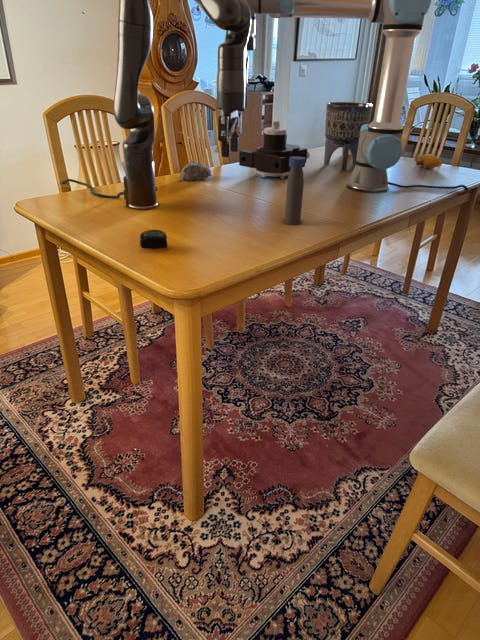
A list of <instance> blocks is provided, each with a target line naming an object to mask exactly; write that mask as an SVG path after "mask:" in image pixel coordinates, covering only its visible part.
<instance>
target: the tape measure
mask: <svg viewBox="0 0 480 640" xmlns="http://www.w3.org/2000/svg"><path fill="white" fill-rule="evenodd" d="M167 236H168V235H167V234H166V232H165V231H164V230H161V229H147V230H144V231H143V232H141V233H140V235H139V240H140V241H139V245H140V246H139V247H141V248H142V249H146V250H157V249H167V248H168V240H167V239H168V237H167Z"/></svg>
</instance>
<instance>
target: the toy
mask: <svg viewBox="0 0 480 640" xmlns="http://www.w3.org/2000/svg"><path fill="white" fill-rule="evenodd" d="M413 160H414V162H415V165H416V166H421V167H425V168H426V169H428V170H430V169H435V168H438V167H441V166H442V165H443V161H442V160H440V159H438V157H437V156H436V155H434V154H430V153H428V154H425V155H423V154H422V155H419V156H418V157H417V158H415V159H413Z"/></svg>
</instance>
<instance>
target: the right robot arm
mask: <svg viewBox="0 0 480 640" xmlns="http://www.w3.org/2000/svg"><path fill="white" fill-rule="evenodd" d="M245 1H246V2H247V3H248V5H249V7H250V11H251V27H250V32H249V37H248V42H247V46H246V50H245V108H248V87H250V83H249V79H248V78H249V65H250V57H249V54H248V51H255V49H256V38H255V37H254V36H255V35H256V25H257V23H256V22H257V19H256V16H257V14H258V15H262V14H263V15H268V16H269V17H270V18H272V19H281V18H299V19H300V18H301V19H302V18H307V19H349V20H350V19H352V20H353V19H354V20H367V21H368V23H370V24H371V23H374V24H383V25H382V33H383V34H384V36H385V38H386V39H385V43H384V44H385V45H384V51H383V57H382V58H383V59H382V63H381V64H382V65H381V70H380V71H381V72H380V77H379V82H378V89H377V97H376V101H375V110H374V116H373V120H372V121H371V122H369V124H364V125H362V127H361V130H360V133H359V134H360V137H359V144H358V151H357V158H356V165H355V166H354V167H353V171H351V174H350V176H349V179H348V182H347V187H348V188H349V189H351V190H354V191H358V192H363V193H364V192H365V193H382V192H386V191H388V189H389V185H390V186H393V187H397V188H401V189H407V188H408V189H410V188H425V189H437V190H438V189H439V190H440V189H441V190H454V189H459V188H463V189H464V190H468V186H466V185H464V184H459V185H454V186H442V185H441V186H439V185H438V186H437V185H426V184H408V185H402V184H398V183H396V182H395V183H394V182H390V181H389V178H388V173H387V172H388V171H387V169H390V168H392V167H394V166H395V165H396V164H397V163H399V161H400V159H401V158H402V155H403V152H404V149H403V148H404V147H403V141H402V139H403V138H402V137H403V132H404V126H403V124H402V123H401V117H402V112H403V107H404V101H405V97H406V96H405V95H406V90H407V84H408V79H409V73H410V67H411V62H412V59H413V51H414V45H415V41H416V38H417V37H418V36H419V35H420V34H421V33H422V32H423V31H422V30H423V25H424V20H425V16H426V14H427V13H428V12H429V9H430V7H431V4H432V0H245ZM245 108H244V109H243V110H238V111H239V112H245V111H246V109H245Z"/></svg>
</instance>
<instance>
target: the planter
mask: <svg viewBox="0 0 480 640" xmlns="http://www.w3.org/2000/svg"><path fill="white" fill-rule="evenodd" d="M373 107H374V106H373V104H372V103H367V102H353V101H333V102H327V103H326V109H325V124H324V125H325V126H324V139H325V144H324V156H323V157H324V158H323V165H325V166H328V165H330V163H331V158H332V156H333V154H334V153H335V151H336V150H337V149H340V148H341V152H342V153H341V166H340V170H341V172H345V171H347V167H348V166H347V165H348V159H349V153H348V152H349V150H350V151H351V153H352V154H351V157H352V158H351V159H352V160H351V161H352V166H353V167H355V165H356V158H357V151H358V144H359V137H360V134H359V133H360V130H361V127H362V125H364V124H370V123H371V122H370V121H371V116H372V112H373Z"/></svg>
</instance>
